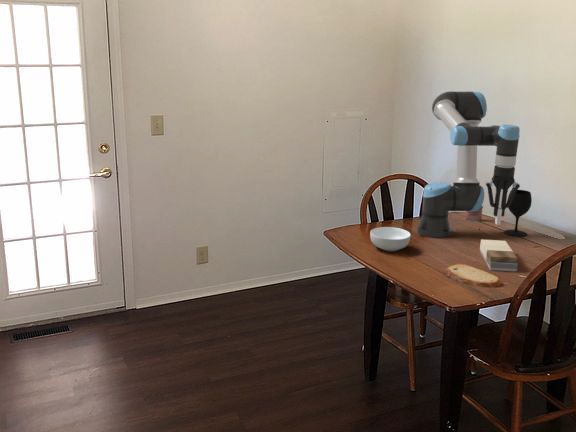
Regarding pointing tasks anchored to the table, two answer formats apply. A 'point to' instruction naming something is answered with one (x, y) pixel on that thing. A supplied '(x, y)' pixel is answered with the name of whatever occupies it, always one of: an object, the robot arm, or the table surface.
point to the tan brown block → (501, 257)
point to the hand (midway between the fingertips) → (497, 223)
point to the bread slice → (471, 276)
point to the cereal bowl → (390, 238)
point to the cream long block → (497, 246)
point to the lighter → (474, 215)
